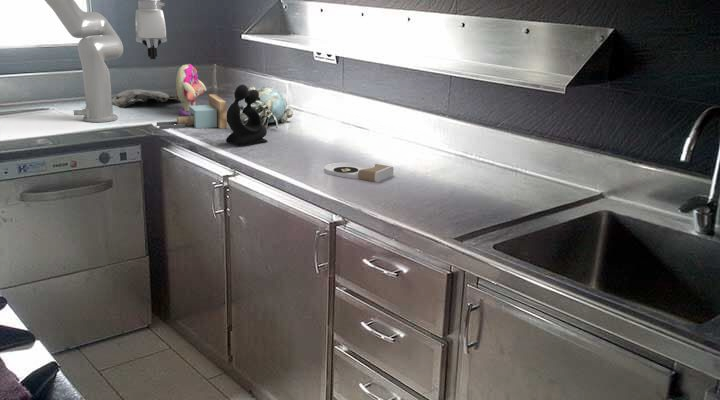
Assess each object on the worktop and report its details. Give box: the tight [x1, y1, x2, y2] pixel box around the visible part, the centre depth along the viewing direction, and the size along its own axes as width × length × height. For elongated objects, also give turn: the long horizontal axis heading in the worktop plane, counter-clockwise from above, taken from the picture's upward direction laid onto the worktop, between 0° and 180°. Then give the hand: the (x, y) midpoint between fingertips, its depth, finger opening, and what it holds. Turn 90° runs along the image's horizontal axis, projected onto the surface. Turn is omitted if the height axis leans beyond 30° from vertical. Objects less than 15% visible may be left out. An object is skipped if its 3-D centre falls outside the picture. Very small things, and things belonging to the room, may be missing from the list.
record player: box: [323, 162, 394, 183], centre depth 204 cm, size 12×3×20 cm
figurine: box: [225, 84, 268, 147], centre depth 235 cm, size 14×9×20 cm, turn 134°
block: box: [189, 104, 218, 129], centre depth 263 cm, size 8×11×6 cm
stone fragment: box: [112, 88, 181, 109], centre depth 304 cm, size 26×29×6 cm
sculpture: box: [240, 85, 294, 130], centre depth 265 cm, size 20×18×30 cm
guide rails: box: [156, 120, 186, 130], centre depth 259 cm, size 9×7×1 cm
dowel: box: [176, 116, 194, 127], centre depth 262 cm, size 10×4×4 cm
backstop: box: [208, 93, 228, 130], centre depth 265 cm, size 2×18×10 cm, turn 24°
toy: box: [175, 63, 207, 117], centre depth 283 cm, size 25×9×20 cm, turn 179°
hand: (152, 58), depth 250 cm, fingers closed
